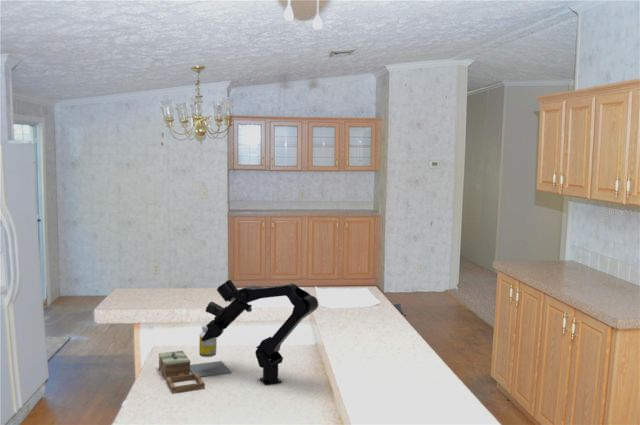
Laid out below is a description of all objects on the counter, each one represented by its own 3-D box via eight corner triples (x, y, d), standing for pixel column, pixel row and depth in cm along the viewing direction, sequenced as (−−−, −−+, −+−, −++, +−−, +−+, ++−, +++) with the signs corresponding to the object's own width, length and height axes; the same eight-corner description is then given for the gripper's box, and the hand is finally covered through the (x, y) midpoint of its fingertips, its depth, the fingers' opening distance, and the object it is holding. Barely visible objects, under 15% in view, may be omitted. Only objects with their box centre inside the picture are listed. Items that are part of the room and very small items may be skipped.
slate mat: (231, 373, 211) (231, 371, 211) (195, 378, 205) (195, 376, 205) (221, 362, 223) (221, 360, 223) (186, 366, 217) (186, 365, 217)
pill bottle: (206, 351, 214) (207, 322, 214) (219, 354, 211) (220, 325, 211) (195, 356, 209) (196, 326, 208) (208, 359, 206) (209, 328, 205)
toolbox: (204, 388, 194) (204, 369, 194) (172, 393, 189) (172, 373, 189) (187, 364, 219) (187, 347, 219) (158, 368, 214) (158, 350, 214)
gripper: (224, 290, 218) (197, 316, 219) (212, 301, 199) (182, 329, 201) (243, 311, 218) (216, 336, 219) (233, 323, 199) (203, 351, 201)
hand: (204, 338), depth 210 cm, fingers closed on pill bottle, 6 cm apart
